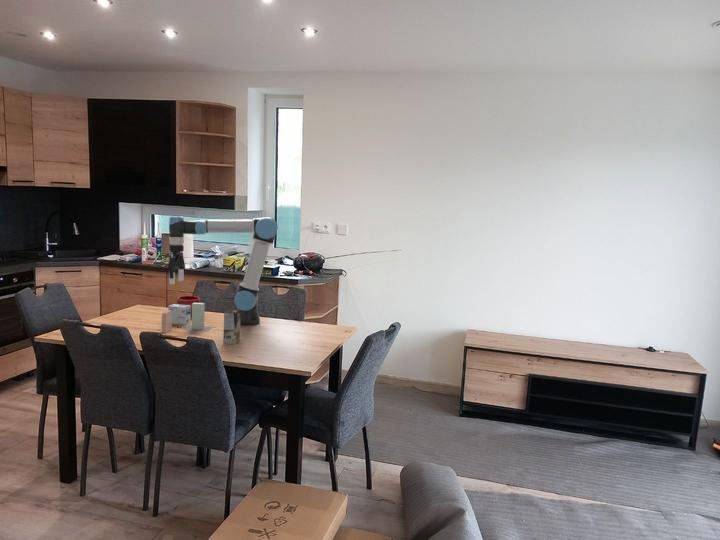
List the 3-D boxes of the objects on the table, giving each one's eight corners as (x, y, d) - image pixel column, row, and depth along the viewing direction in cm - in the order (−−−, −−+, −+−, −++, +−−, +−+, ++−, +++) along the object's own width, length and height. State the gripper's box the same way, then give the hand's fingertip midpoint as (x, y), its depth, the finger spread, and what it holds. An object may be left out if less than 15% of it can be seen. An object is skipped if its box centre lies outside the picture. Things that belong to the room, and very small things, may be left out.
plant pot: (172, 317, 329) (172, 297, 327) (186, 313, 341) (187, 294, 339) (189, 320, 324) (190, 300, 323) (204, 316, 336) (204, 297, 335)
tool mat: (213, 327, 309) (213, 326, 308) (207, 332, 297) (207, 331, 297) (188, 326, 309) (188, 325, 309) (181, 331, 297) (181, 330, 297)
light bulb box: (190, 323, 316) (191, 304, 315) (185, 325, 310) (186, 307, 308) (173, 321, 317) (173, 303, 316) (167, 324, 311) (168, 305, 309)
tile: (171, 330, 298) (171, 310, 297) (165, 333, 289) (165, 313, 288) (167, 329, 298) (167, 310, 297) (161, 333, 289) (161, 313, 288)
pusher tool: (204, 327, 304) (204, 303, 303) (202, 329, 301) (202, 304, 299) (193, 327, 304) (194, 302, 303) (191, 328, 301) (192, 303, 299)
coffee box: (235, 344, 276) (236, 313, 274) (222, 343, 276) (223, 312, 274) (240, 340, 285) (240, 309, 283) (227, 339, 285) (228, 309, 283)
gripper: (177, 242, 315) (178, 279, 318) (160, 245, 291) (161, 285, 293) (190, 243, 315) (190, 279, 318) (174, 246, 290) (175, 286, 293)
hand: (176, 282), depth 305 cm, fingers open, 13 cm apart
